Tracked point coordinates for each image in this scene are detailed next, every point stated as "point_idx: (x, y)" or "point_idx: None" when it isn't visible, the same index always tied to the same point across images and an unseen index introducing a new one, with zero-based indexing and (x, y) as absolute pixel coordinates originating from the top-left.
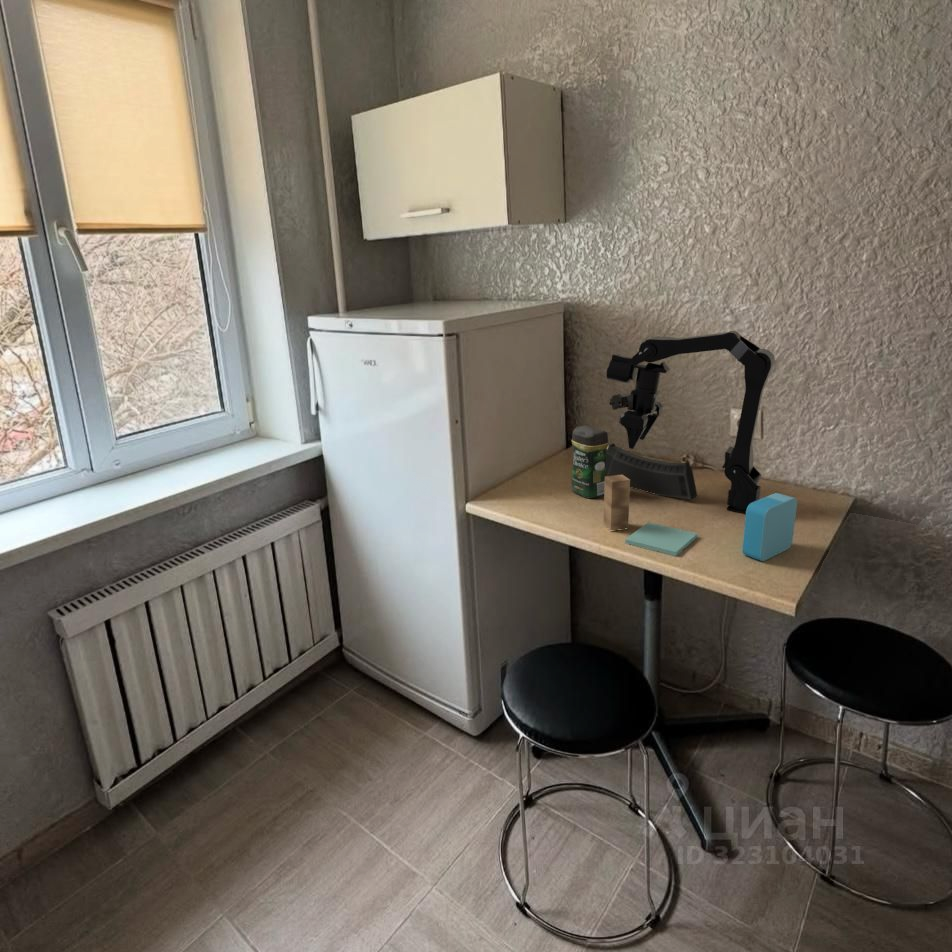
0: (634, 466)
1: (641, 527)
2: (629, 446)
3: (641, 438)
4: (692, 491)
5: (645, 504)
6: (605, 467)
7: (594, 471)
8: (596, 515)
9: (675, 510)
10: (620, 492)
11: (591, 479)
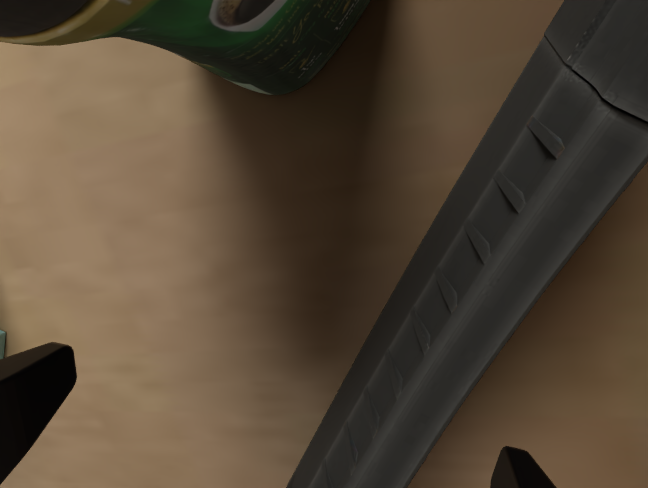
0: (436, 268)
1: None
2: (32, 354)
3: (499, 475)
4: None
5: (217, 306)
6: (207, 64)
7: None
8: (11, 109)
9: (193, 425)
10: None
11: None
